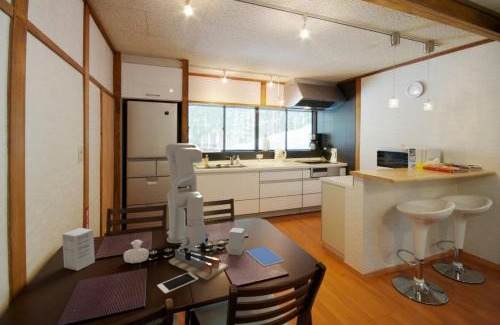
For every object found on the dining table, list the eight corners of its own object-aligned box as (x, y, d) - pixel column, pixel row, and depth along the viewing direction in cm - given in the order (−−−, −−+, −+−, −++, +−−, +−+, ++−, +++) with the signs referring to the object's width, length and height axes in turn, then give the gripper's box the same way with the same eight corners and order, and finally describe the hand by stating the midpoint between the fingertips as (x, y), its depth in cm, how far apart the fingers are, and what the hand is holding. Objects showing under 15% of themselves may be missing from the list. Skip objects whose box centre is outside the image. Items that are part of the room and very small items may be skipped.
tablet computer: (284, 262, 132) (284, 259, 131) (263, 267, 125) (263, 265, 125) (264, 248, 148) (264, 245, 148) (245, 252, 142) (245, 250, 142)
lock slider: (189, 255, 133) (189, 248, 133) (193, 253, 136) (193, 246, 135) (196, 257, 130) (196, 251, 130) (200, 255, 133) (200, 249, 132)
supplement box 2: (241, 255, 137) (241, 233, 136) (228, 254, 138) (228, 231, 137) (244, 250, 144) (244, 228, 143) (231, 248, 146) (232, 227, 144)
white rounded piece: (149, 263, 132) (150, 241, 137) (147, 260, 125) (149, 237, 131) (124, 265, 129) (126, 243, 134) (121, 262, 122) (123, 239, 128)
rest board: (168, 262, 128) (168, 260, 128) (189, 252, 139) (189, 250, 139) (207, 280, 113) (207, 277, 113) (227, 267, 124) (227, 265, 124)
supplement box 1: (95, 262, 127) (94, 229, 126) (77, 271, 119) (76, 236, 117) (81, 259, 130) (80, 227, 129) (63, 267, 122) (61, 233, 120)
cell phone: (156, 286, 108) (156, 285, 108) (189, 273, 119) (189, 271, 119) (165, 294, 103) (165, 293, 103) (199, 279, 114) (199, 278, 114)
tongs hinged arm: (181, 258, 129) (181, 250, 129) (182, 257, 130) (182, 250, 130) (218, 268, 120) (218, 260, 120) (219, 267, 121) (219, 259, 121)
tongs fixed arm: (174, 258, 130) (173, 250, 129) (178, 257, 132) (177, 248, 131) (210, 274, 115) (210, 264, 115) (214, 272, 117) (214, 262, 117)
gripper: (202, 215, 130) (203, 248, 131) (175, 224, 115) (176, 260, 117) (213, 218, 125) (213, 251, 127) (186, 227, 111) (187, 265, 112)
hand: (195, 256), depth 122 cm, fingers open, 9 cm apart
